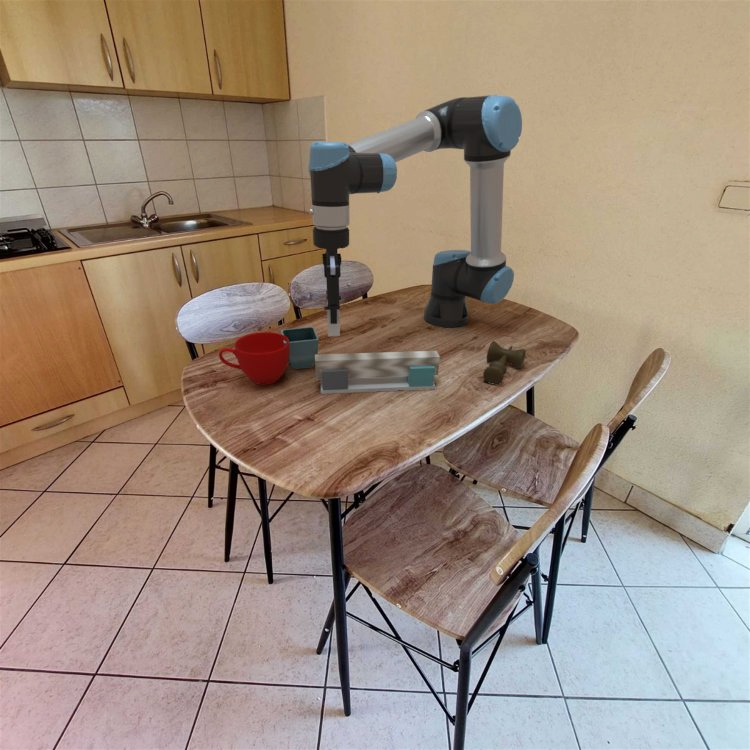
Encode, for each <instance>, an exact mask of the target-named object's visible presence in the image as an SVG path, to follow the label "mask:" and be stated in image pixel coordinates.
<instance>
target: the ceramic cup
mask: <svg viewBox="0 0 750 750" xmlns="http://www.w3.org/2000/svg"><path fill="white" fill-rule="evenodd" d="M283 340H284V341H285V342H287V345H286V346H284V341H283ZM218 352H219V353H218V358H219V360H220V361H221V362H222V363H223V364H224V365H226V366H228V367H230V368H234V369H238V370H241V371H242V372H243V374H244V375H245V376H246V377H247V378H248V379H250V380H251V381H252V382H253V383H255V384H258V385H262V386H263V385H271V384H273V383H276V382H277V381H279V379H280V378H281V377H282V376H283V375H284V373H285V371H286V369H287V368H288V365H289V362H288V361H289V352H290V344H289V340H288V338H287V337H286V336H284V335H282V333H277V332H273V331H272V332H270V331H268V332H267V331H262V332H261V331H260V332H254V333H250V334H249V333H248V334H245V335H243V336H241V337H239V338H237V339H236V341H235V342H234V348H232V347H224V348H221V349H220V350H219V351H218ZM224 352H229V353H232V354H233V355H234V356H235V358H236V360H237V363H238V364H237V363H233V362H229V361H228V360H226V359H225V358H224V356H223V353H224Z"/></svg>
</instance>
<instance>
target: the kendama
mask: <svg viewBox="0 0 750 750" xmlns="http://www.w3.org/2000/svg"><path fill="white" fill-rule="evenodd" d="M526 352H527V351H526V349H525V348H521V349H514V350H513V345H511V346H509V347H508V349H507V348H504V347H502V346H501V345H499V344H498V343H497V341H495V340H493V341H492V342H491V343H490V345H489V346H488V349H487V353H486V361H487V362H488V363H489V366H487V367H486V368H484V370H483V373H482V377H483V379H484V381H485V382H486V381H487V382H490V383H494V384H498V385H500V384H501V383H503V380H504V375H506V373H507V367H506V362H507V363H509V364H511V365H512V366H513V367H515V368H516V369H517V368H520V369H522V367H523V365H524V361H525V359H526V354H527V353H526ZM491 361H492V362H491ZM487 382H486V383H487ZM490 383H489V384H490ZM494 384H493V385H494Z"/></svg>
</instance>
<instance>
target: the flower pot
mask: <svg viewBox="0 0 750 750" xmlns="http://www.w3.org/2000/svg"><path fill="white" fill-rule="evenodd" d="M280 332H281V333H280V334H282V335H284V336H286V337H287V338H288V340H289V344H290V352H289V361H288V365H290V366H291V368H293V370H299V369H308V368H313V366H315V355H317V354H319V341H320V340H319V337H318V334H317V332H316V329H315V327H314V326H305V327H304V326H303V327H299V328H298V327H295V328H285V329H281V330H280ZM283 341H284V340H283ZM286 345H287V342H285V341H284V346H286Z"/></svg>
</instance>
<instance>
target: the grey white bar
mask: <svg viewBox="0 0 750 750" xmlns="http://www.w3.org/2000/svg"><path fill="white" fill-rule="evenodd" d="M440 359H441V357H440V355H439V352H438V351H437V350H420V351H419V350H418V351H417V350H416V351H389V352H388V351H387V352H385V351H383V352H359V353H357V352H356V353H327V354H325V353H321V354H319V353H318V354H317V355H315V364H314V367H315V380H317V381H318V380H320V381H321V379H322V370H332V369H348V378H374V377H400V376H409V371H410V367H420V366H434V367H435V374H434V376H438V375H439V367H440Z"/></svg>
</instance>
